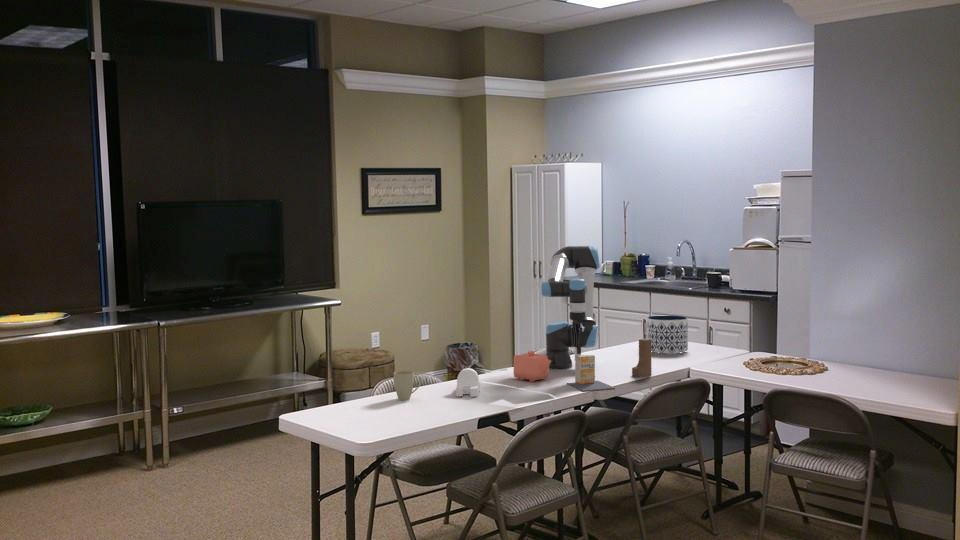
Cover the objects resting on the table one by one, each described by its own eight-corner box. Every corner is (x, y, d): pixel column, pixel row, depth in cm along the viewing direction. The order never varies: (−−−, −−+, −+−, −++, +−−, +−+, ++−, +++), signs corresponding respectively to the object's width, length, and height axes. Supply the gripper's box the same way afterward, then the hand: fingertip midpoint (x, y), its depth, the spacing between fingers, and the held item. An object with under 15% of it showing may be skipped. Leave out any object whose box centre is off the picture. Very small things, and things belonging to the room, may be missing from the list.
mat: (566, 384, 407) (566, 383, 407) (597, 381, 412) (597, 380, 412) (583, 391, 390) (583, 390, 390) (615, 388, 395) (615, 387, 395)
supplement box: (580, 384, 403) (580, 356, 402) (574, 382, 407) (574, 355, 406) (595, 382, 406) (595, 355, 405) (589, 381, 411) (589, 353, 410)
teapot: (558, 381, 414) (558, 352, 413) (541, 385, 405) (541, 355, 404) (523, 376, 429) (522, 347, 428) (506, 379, 420) (506, 351, 419)
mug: (408, 402, 373) (407, 375, 372) (389, 400, 378) (389, 373, 377) (422, 398, 382) (422, 371, 381) (404, 395, 387) (404, 369, 386)
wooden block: (638, 378, 419) (638, 341, 418) (631, 376, 423) (631, 340, 421) (651, 376, 424) (651, 339, 423) (645, 374, 428) (645, 338, 426)
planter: (647, 356, 481) (647, 320, 480) (646, 349, 503) (646, 315, 502) (689, 356, 477) (689, 320, 476) (686, 350, 499) (686, 315, 498)
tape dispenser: (455, 396, 385) (455, 372, 385) (459, 388, 403) (459, 365, 402) (477, 396, 384) (476, 372, 384) (480, 388, 402) (479, 365, 402)
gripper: (564, 310, 417) (565, 358, 418) (576, 313, 405) (576, 363, 406) (579, 309, 419) (579, 357, 421) (590, 312, 407) (590, 362, 408)
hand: (577, 360), depth 413 cm, fingers closed
